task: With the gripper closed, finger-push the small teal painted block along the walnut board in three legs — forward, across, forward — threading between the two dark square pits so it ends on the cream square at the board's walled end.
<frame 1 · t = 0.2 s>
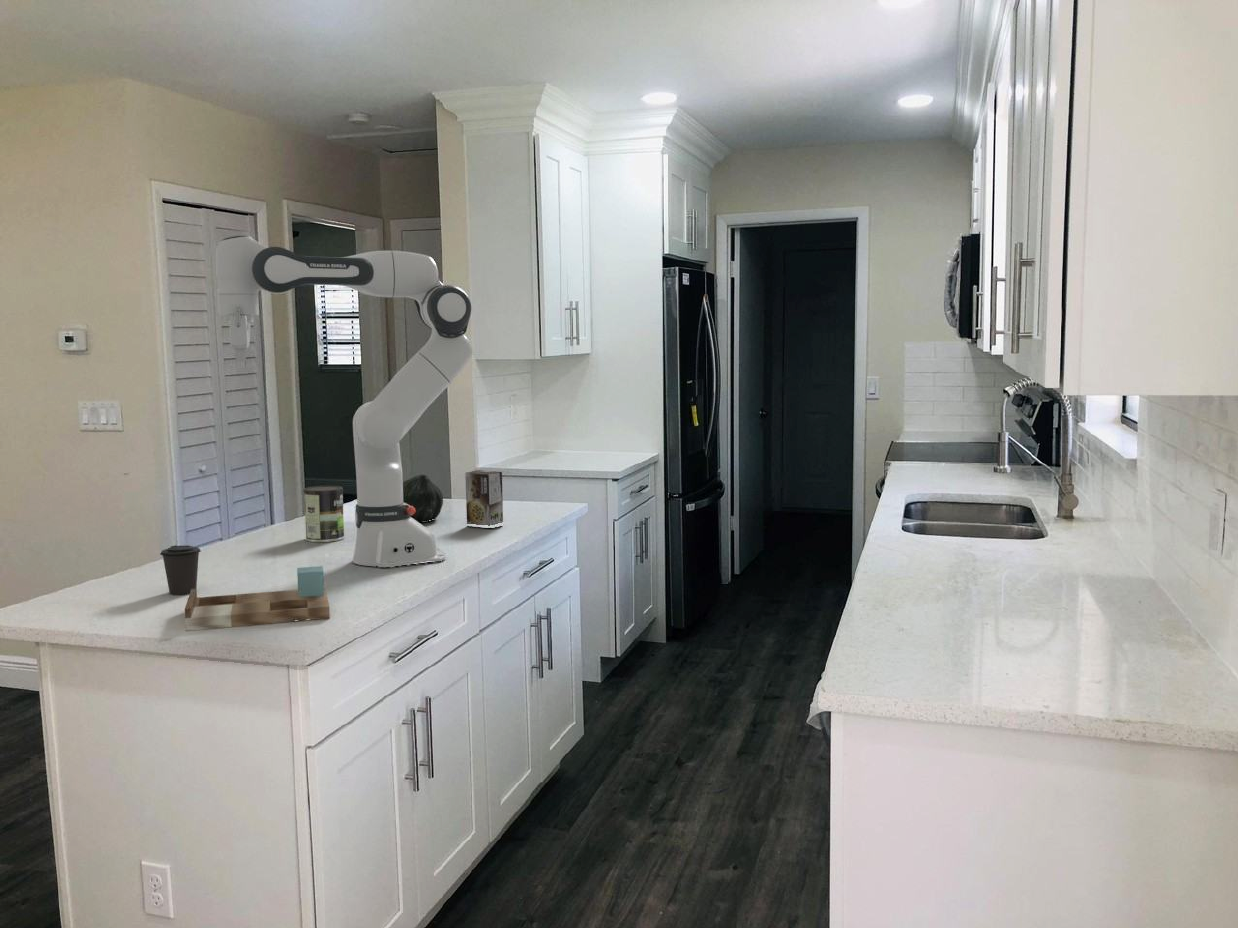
hand: (241, 368, 234), 48 cm above the countertop, tool pointing down, fingers open, 8 cm apart
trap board: (259, 613, 202), on the countertop
coffee cup: (182, 593, 219), on the countertop
squash: (418, 521, 305), on the countertop
teal block: (311, 593, 208), point 2 cm above the countertop, touching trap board
coffee can: (325, 539, 277), on the countertop
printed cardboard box: (484, 527, 296), on the countertop
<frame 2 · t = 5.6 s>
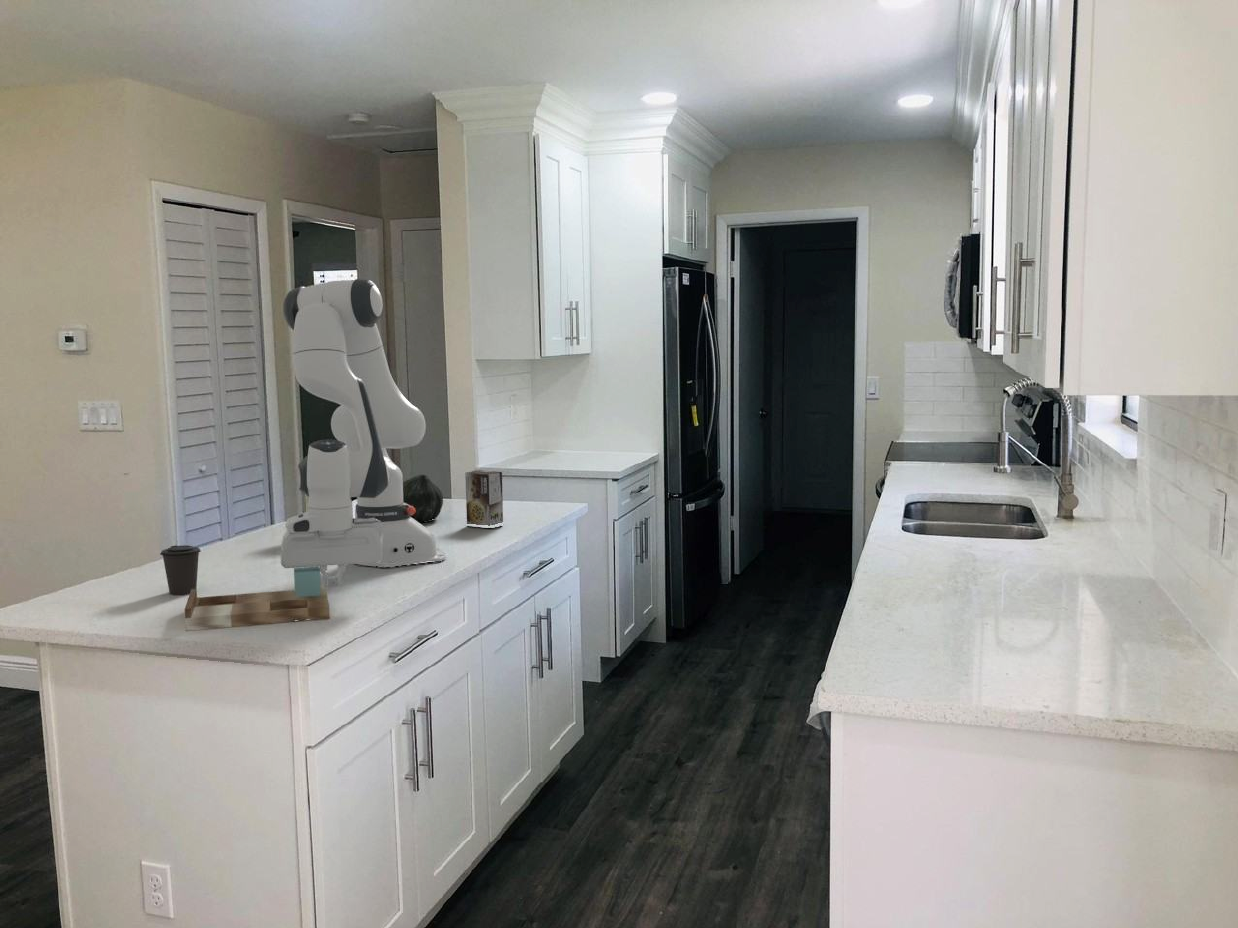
hand: (333, 585, 210), 4 cm above the countertop, tool pointing down, fingers closed
teal block: (308, 593, 208), point 2 cm above the countertop, touching gripper
everything else where it was.
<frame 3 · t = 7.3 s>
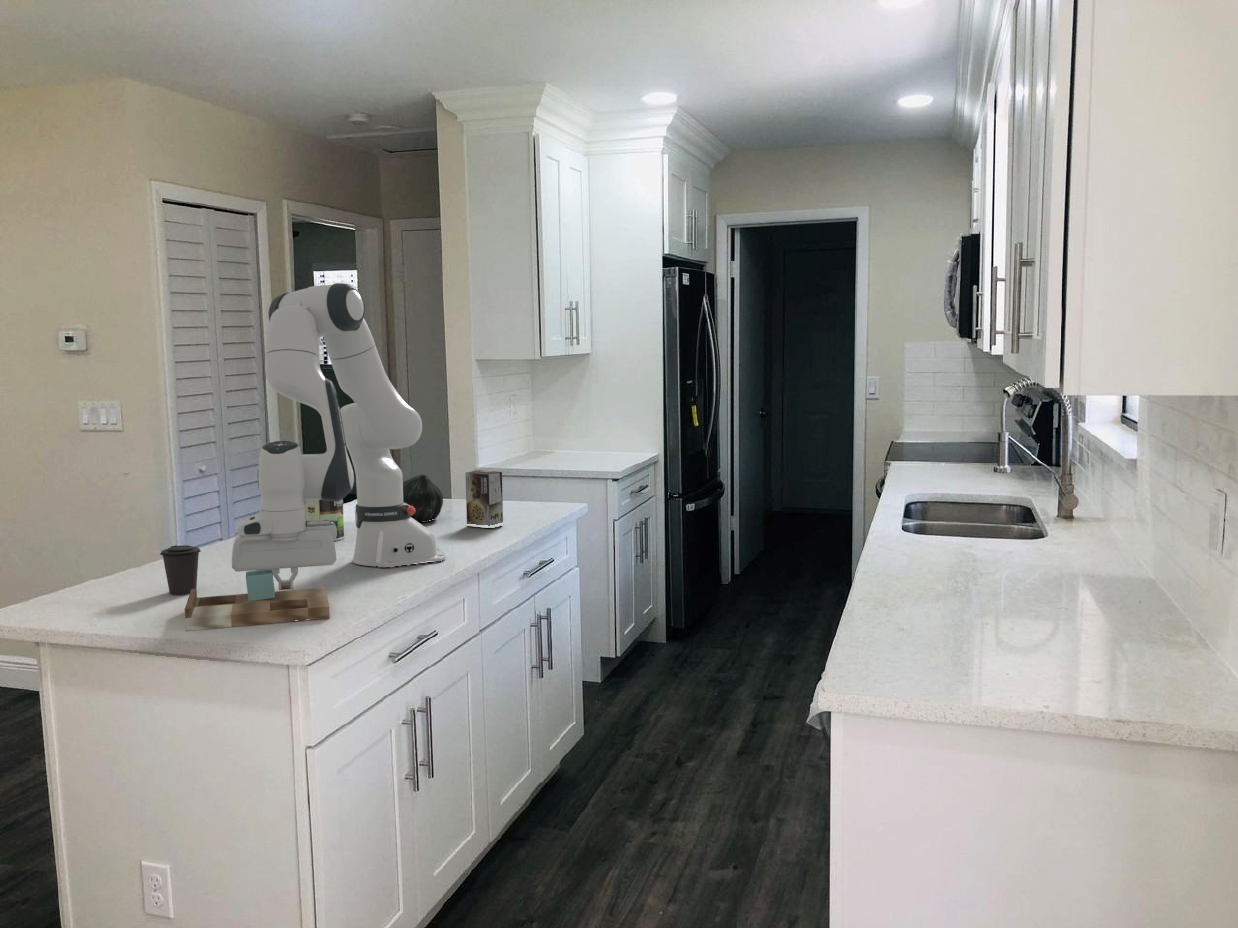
hand: (285, 589, 207), 4 cm above the countertop, tool pointing down, fingers closed
teal block: (261, 596, 205), point 3 cm above the countertop, touching gripper
everything else where it was.
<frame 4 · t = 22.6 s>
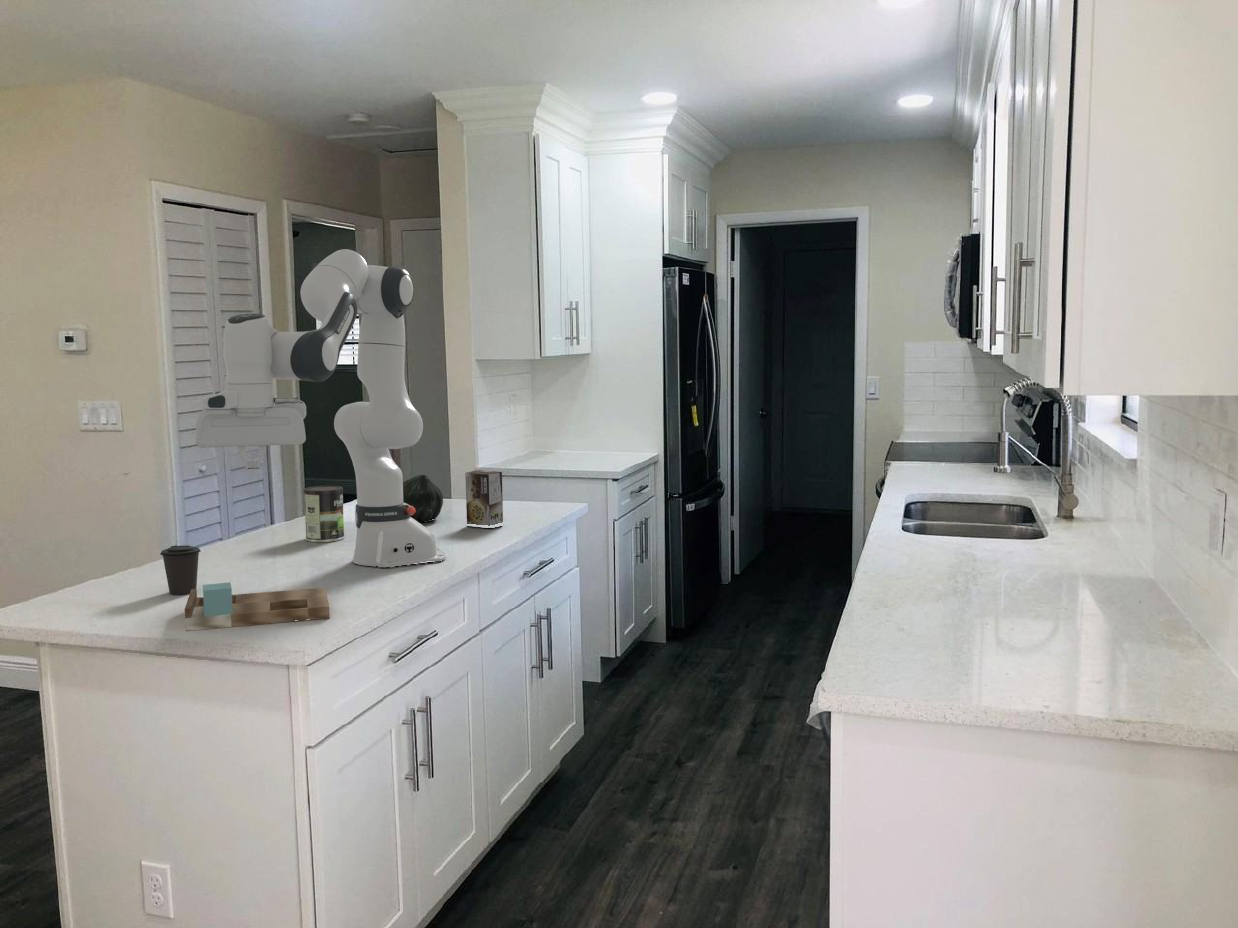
hand: (253, 469, 198), 29 cm above the countertop, tool pointing down, fingers closed
teal block: (218, 611, 194), point 2 cm above the countertop, touching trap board
everything else where it was.
at the end: teal block inside the target area on the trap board (1.4 cm from its centre), point 2.4 cm above the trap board's base; teal block point 2.4 cm above the countertop; teal block tilted 0° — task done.
